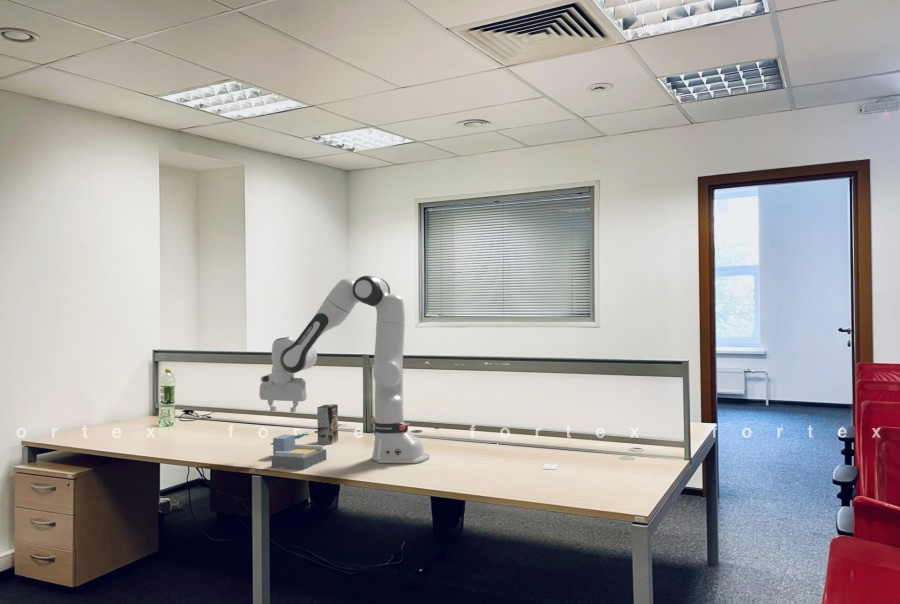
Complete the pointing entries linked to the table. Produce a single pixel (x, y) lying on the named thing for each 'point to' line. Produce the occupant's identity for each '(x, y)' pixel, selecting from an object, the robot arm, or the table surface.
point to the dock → (299, 456)
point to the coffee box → (327, 424)
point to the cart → (283, 443)
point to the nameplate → (298, 436)
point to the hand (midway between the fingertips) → (283, 411)
